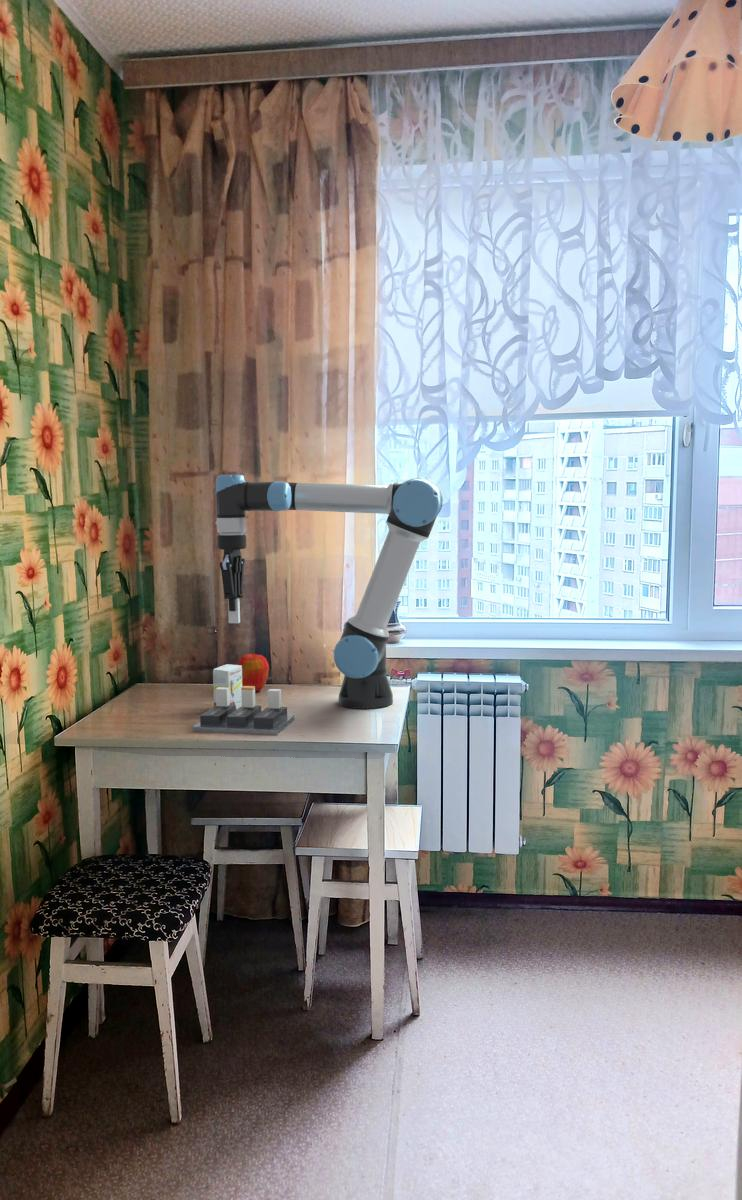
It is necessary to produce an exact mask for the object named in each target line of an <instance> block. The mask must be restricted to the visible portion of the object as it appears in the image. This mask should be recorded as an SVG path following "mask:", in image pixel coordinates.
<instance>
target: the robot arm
mask: <svg viewBox="0 0 742 1200" xmlns="http://www.w3.org/2000/svg"><path fill="white" fill-rule="evenodd" d="M214 494H215V508H216V509H215V510H216V521H215V523H214V524H215V525H216V531H217V533H218V534H219V535H217V537H216V541H217V549H218V550H221V551H222V550H223V556H222V561H220V562H219V568H220V571H221V581H222V588H223V595H224V597H223V598H224V599H225V600H227V610H228V612H227V613H228V624H240V623H241V610H240V609H241V608H240V602H241V601H240V599H243V597H244V595H243V593H244V592H243V588H244V587H243V586H244V571H245V570H244V567H245V563H246V562H245V561H246V558H243V557H242V553H241V552H242V551H241V550H244V549H246V548H247V535H246V534H245V533H246V532H247V521H246V520H247V519H246V512H282V511H310V512H312V511H313V512H329V513H331V512H334V513H355V514H357V513H359V514H380V515H381V514H382V515H383V514H384V515H388V516H387V519H386V525H387V527H388V531H387V534H386V537H385V540H384V542H383V545H382V548H381V550H380V553H379V555H378V558H377V560H376V563H375V566H374V568H373V570H372V574H371V576H370V579H369V580H368V584H367V585H366V588H365V591H364V594H363V596H362V599H361V601H360V603H359V606H358V609H357V612H356V614H355V615H353V616H351V617H350V618H348V619H347V621H346V622H344V623H343V630H342V631H343V632H342V634H341V636H340V638H339V640H338V641H337V643H336V644H335V646H334V650H333V660H334V664H335V667H336V668H337V669H338V671H339V672H341V674H343V676H344V677H343V680H342V683H341V687H340V689H339V692H338V704H339V705H340V706H342V707H346V708H352V709H378V708H385V707H388V706H391V705H392V704H393V702H394V701H393V700H394V697H393V691H392V688H391V685H390V683H389V679H388V676H387V643H388V639H389V637H390V633H389V631H388V624H389V622H390V619H391V617H392V614H393V611H394V609H395V607H396V605H397V601H398V599H399V597H400V594H401V592H402V589H403V587H404V584H405V581H406V579H407V576H408V573H409V571H410V569H411V566H412V564H413V561H414V560H415V558H416V557H415V556H416V554H417V552H418V549H419V546H420V544H421V543H422V542H423V541H426V540H427V539H429V538H430V534H431V532H432V530H433V528H434V525H435V523H436V519H437V517H438V515H439V514H440V512H441V510H442V507H443V496H442V493H441V490H440V489H439V486H437V484H435V483H434V482H432V481H430V480H427V479H423V478H417V477H416V478H411V479H408V480H405V481H399V482H398V481H393V482H391V483H389V484H388V485H380V484H347V483H346V484H343V483H320V482H319V483H315V482H314V483H313V482H312V483H311V482H287V481H279V480H278V481H255V482H254V481H253V482H251V481H246V480H245V476H244V475H243V474H220V475H218V476H217V477H216V479H215V493H214Z"/></svg>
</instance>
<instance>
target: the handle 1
mask: <svg viewBox="0 0 742 1200" xmlns="http://www.w3.org/2000/svg"><path fill="white" fill-rule="evenodd" d="M229 705H230V692H229V688H225V687H218V688H216V706H229Z"/></svg>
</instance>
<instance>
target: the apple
mask: <svg viewBox="0 0 742 1200" xmlns="http://www.w3.org/2000/svg"><path fill="white" fill-rule="evenodd" d="M237 665H241V666H242V687H243V686H255V693H256V692H259V691H261V690H262V689H263V688H264V687H265V685H266V683H267V680H268V677H269V669H270V665H269V662H268V660H267V658H266V657H265V656H263V654H257V653H254V651H252V653H247V654H244V655H242V657H240V658H239V660H238V663H237Z"/></svg>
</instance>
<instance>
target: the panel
mask: <svg viewBox="0 0 742 1200" xmlns="http://www.w3.org/2000/svg"><path fill="white" fill-rule="evenodd" d="M295 720H296V719H295V714H288V706H282V707H280V708H268V706H267V707H266V708H264V709H263V710H262V705H256V706H254V707H242V706H241V707H240V708H238V709H237V710H236V705H229V706H214V705H213V706H212V707H211V708H209V709H208V710H207V711H205V712H203V713H202V714H200V715H199V722H196V724H194V725H193V726H192V727H191V728H192V732H196V733H197V732H199V733H200V732H201V733H222V734H224V733H227V734H245V735H246V734H248V735H271V736H272V735H273V736H278V735H279V734H280V733H281V732H283V731H284V730H285V729H286V728H287V727H288V726H289V725H291V723H293V722H294V721H295Z"/></svg>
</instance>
